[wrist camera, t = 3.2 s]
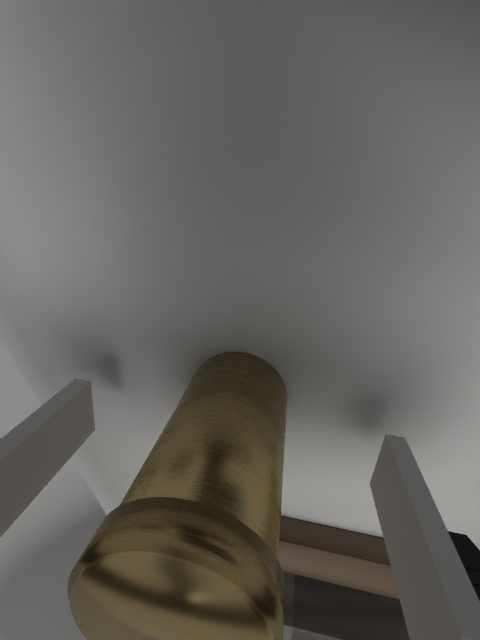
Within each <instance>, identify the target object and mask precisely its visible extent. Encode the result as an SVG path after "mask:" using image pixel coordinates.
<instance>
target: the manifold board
mask: <svg viewBox="0 0 480 640" xmlns="http://www.w3.org/2000/svg"><path fill="white" fill-rule="evenodd" d="M278 562H279V564H280V566H281V568H282V572H283V575H284V583H285V595H284V627H283V640H410V638H409V634H408V630H407V626H406V623H405V619H404V615H403V611H402V607H401V603H400V599H399V595H398V591H397V588H396V584H395V580H394V576H393V572H392V568H391V564H390V560H389V556H388V553H387V549H386V545H385V541H384V539H383V538H378V537H374V536H369V535H364V534H360V533H355V532H351V531H346V530H341V529H337V528H332V527H328V526H323V525H318V524H314V523H309V522H305V521H300V520H295V519H291V518H286V517H282V516H281V520H280V539H279V559H278Z"/></svg>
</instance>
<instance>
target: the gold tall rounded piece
mask: <svg viewBox="0 0 480 640" xmlns="http://www.w3.org/2000/svg"><path fill="white" fill-rule="evenodd" d="M286 404H287V393H286V388H285V385H284V382H283V380H282V378H281V377H280V375H279V374H278V372H277V371H276V370H275V369H274V368H273V367H272V366H271V365H270V364H268V363H267V362H266V361H264V360H262V359H261V358H258V357H256V356H254V355H251V354H247V353H241V352H228V353H223V354H219V355H216V356H214V357H212V358H210V359H209V360H207V361H206V362H205V363H204V364H203V365H202V366H201V367H200V368H199V370H198V371H197V373H196V374H195V376H194V378H193V380H192V381H191V383H190V385H189V386H188V388H187V390H186V392H185V393H184V395H183V397H182V399H181V400H180V402H179V404H178V405H177V407H176V409H175V411H174V412H173V414H172V416H171V418H170V419H169V421H168V423H167V424H166V426H165V428H164V430H163V431H162V433H161V435H160V437H159V438H158V440H157V442H156V443H155V445H154V447H153V449H152V450H151V452H150V454H149V456H148V457H147V459H146V461H145V462H144V464H143V466H142V468H141V469H140V471H139V473H138V475H137V476H136V478H135V480H134V481H133V483H132V485H131V487H130V488H129V490H128V492H127V494H126V495H125V497H124V499H123V500H122V502H121V504H120V506H119V507H117V508H116V509H114V510H113V511H111V512H110V513H109V514H108V515H107V516H106V517H105V518H104V519H103V521H102V522H101V524H100V526H99V527H98V529H97V531H96V532H95V534H94V535H93V537H92V539H91V540H90V542H89V544H88V546H87V547H86V549H85V550H84V552H83V554H82V555H81V557H80V559H79V560H78V562H77V564H76V565H75V567H74V569H73V570H72V572H71V575H70V577H69V581H68V597H69V600H70V607H71V611H72V615H73V617H74V620H75V622H76V624H77V626H78V627H79V629H80V630H81V632H82V633H83V634H84V636H85V637H86V638H87V640H283V627H284V595H285V583H284V575H283V572H282V568H281V566H280V564H279V562H278V559H279V539H280V520H281V501H282V481H283V462H284V443H285V424H286Z"/></svg>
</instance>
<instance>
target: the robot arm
mask: <svg viewBox="0 0 480 640" xmlns="http://www.w3.org/2000/svg"><path fill="white" fill-rule="evenodd" d="M94 430H95V423H94V413H93V402H92V391H91V381H85V380H80V379H74V380H73V381H72V382H71V383H69V384H68V385H67V386H66V387H64V388H63V389H62V390H61V391H60V392H58V393H57V394H56V395H55V396H53V397H52V398H51V399H50V400H48V401H47V402H46V403H45V404H43V405H42V406H41V407H40V408H39V409H37V410H36V411H35V412H34V413H32V414H31V415H30V416H29V417H28V418H26V419H25V420H24V421H23V422H21V423H20V424H19V425H18V426H16V427H15V428H14V429H13V430H11V431H10V432H9V433H8V434H7V435H5V436H4V437H3V438H2V439H0V537H1V536H2V535H3V534H4V533H5V532H6V530H7V529H8V528H9V527H10V526H11V525H12V524H13V522H14V521H15V520H16V519H17V518H18V517H19V515H21V513H22V512H23V511H24V510H25V509H26V508H27V507H28V505H29V504H30V503H31V502H32V501H33V500H34V498H35V497H36V496H37V495H38V494H39V493H40V492H41V490H42V489H43V488H44V487H45V486H46V485H47V484H48V482H49V481H50V480H51V479H52V478H53V477H54V476H55V474H56V473H57V472H58V471H59V470H60V469H61V467H62V466H63V465H64V464H65V463H66V462H67V461H68V460H69V459H70V457H71V456H72V455H73V454H74V453H75V452H76V451H77V449H78V448H79V447H80V446H81V445H82V444H83V443H84V441H85V440H86V439H87V438H88V437H89V436H90V435H91V433H92V432H93V431H94ZM370 487H371V490H372V494H373V498H374V502H375V506H376V510H377V514H378V518H379V522H380V525H381V529H382V533H383V537H384V541H385V545H386V549H387V553H388V556H389V560H390V564H391V568H392V572H393V576H394V580H395V584H396V588H397V591H398V595H399V599H400V603H401V607H402V611H403V615H404V619H405V623H406V626H407V630H408V634H409V638H410V640H480V550H479V549H478V548H477V547H476V546H475V545H474V543H473V542H472V541H471V540H470V539H469V538H468V537H467V535H463V534H459V533H454V532H449V531H447V529H446V526H445V524H444V522H443V520H442V518H441V515H440V513H439V511H438V509H437V507H436V504H435V502H434V500H433V498H432V496H431V493H430V491H429V489H428V487H427V485H426V482H425V480H424V478H423V476H422V474H421V472H420V469H419V467H418V465H417V463H416V461H415V458H414V456H413V454H412V452H411V450H410V447H409V445H408V443H407V441H406V439H405V438H404V437H399V436H393V435H387V434H386V435H385V438H384V441H383V444H382V447H381V450H380V453H379V457H378V460H377V463H376V466H375V469H374V472H373V475H372V478H371V481H370Z"/></svg>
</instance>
